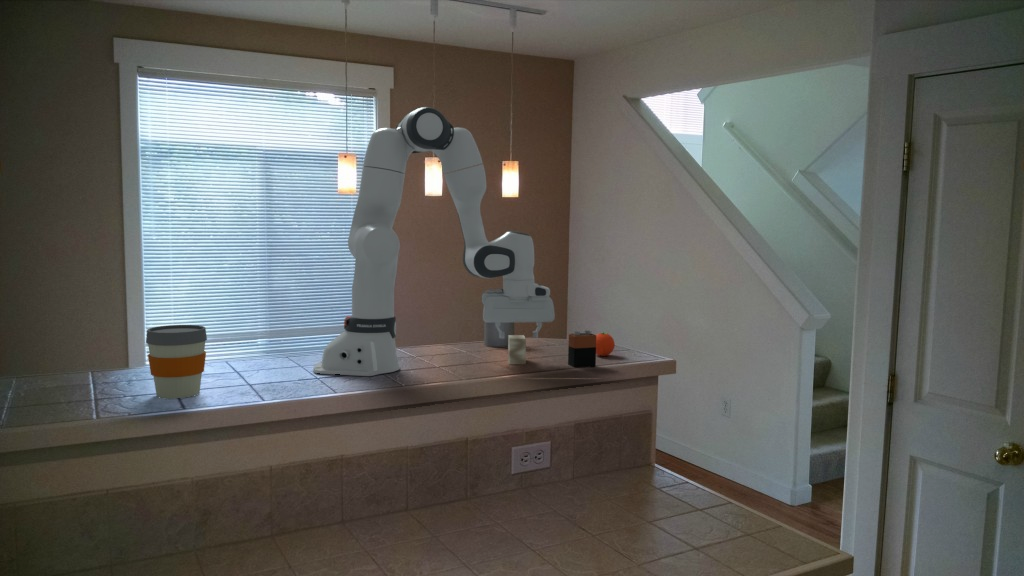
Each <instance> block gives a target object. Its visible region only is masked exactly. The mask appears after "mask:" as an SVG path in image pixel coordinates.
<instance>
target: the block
mask: <svg viewBox="0 0 1024 576" xmlns="http://www.w3.org/2000/svg"><path fill="white" fill-rule="evenodd" d="M507 349H508V351H507V353H508V354H507V361H508V364H509V365H526V358H527V357H526V355H527V352H526V351H527V350H526V349H527V338H526V336H525V335H524V334H514V335H508V347H507Z"/></svg>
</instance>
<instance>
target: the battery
mask: <svg viewBox="0 0 1024 576" xmlns="http://www.w3.org/2000/svg"><path fill="white" fill-rule="evenodd" d="M592 332H593V331H592V330H587V329H586V330H584V331H583V332H580V331H574V332H573V333H569V334H568V348H567V349H568V350H567V351H568V354H567V355H568V356H567V365H568V366H570V367H573V368H584V367H589V368H595V367H596V363H597V354H596V335H597V334H594V333H592Z"/></svg>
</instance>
